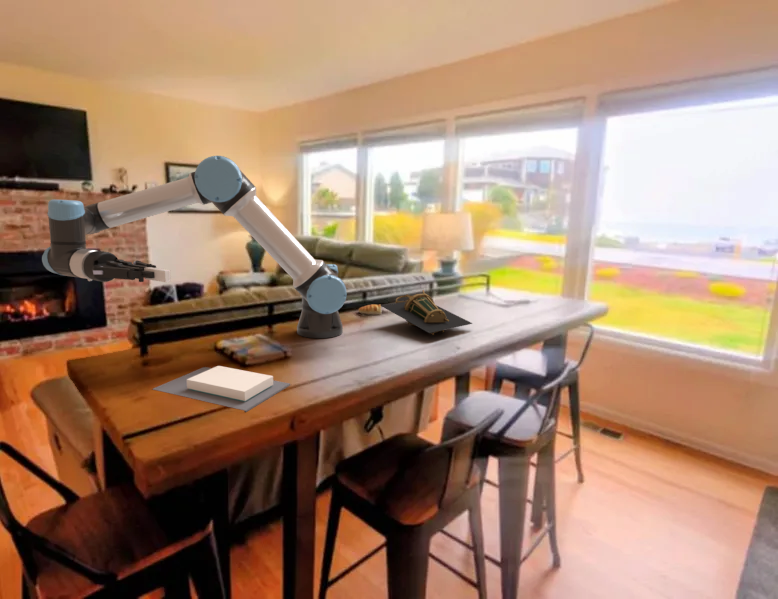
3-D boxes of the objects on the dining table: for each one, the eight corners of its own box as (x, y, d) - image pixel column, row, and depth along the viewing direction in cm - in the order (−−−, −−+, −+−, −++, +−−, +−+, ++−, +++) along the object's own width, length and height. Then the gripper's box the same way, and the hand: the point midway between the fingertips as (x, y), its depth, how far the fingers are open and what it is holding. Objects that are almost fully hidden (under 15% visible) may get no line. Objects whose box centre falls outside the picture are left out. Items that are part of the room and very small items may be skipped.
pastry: (358, 315, 179) (358, 305, 179) (358, 311, 186) (358, 302, 185) (382, 315, 180) (382, 306, 179) (381, 311, 187) (381, 302, 186)
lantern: (422, 353, 147) (365, 312, 166) (464, 346, 163) (408, 309, 182) (435, 315, 142) (375, 277, 161) (477, 312, 158) (418, 278, 178)
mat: (152, 390, 103) (151, 389, 103) (204, 368, 117) (204, 366, 117) (245, 412, 94) (245, 410, 93) (290, 385, 108) (290, 383, 108)
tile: (186, 379, 102) (244, 391, 97) (218, 365, 111) (273, 376, 106) (187, 389, 103) (245, 402, 97) (218, 375, 112) (273, 386, 106)
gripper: (120, 276, 122) (189, 286, 114) (72, 284, 110) (145, 297, 102) (118, 248, 120) (188, 257, 112) (68, 253, 108) (143, 263, 100)
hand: (167, 276), depth 107 cm, fingers closed
